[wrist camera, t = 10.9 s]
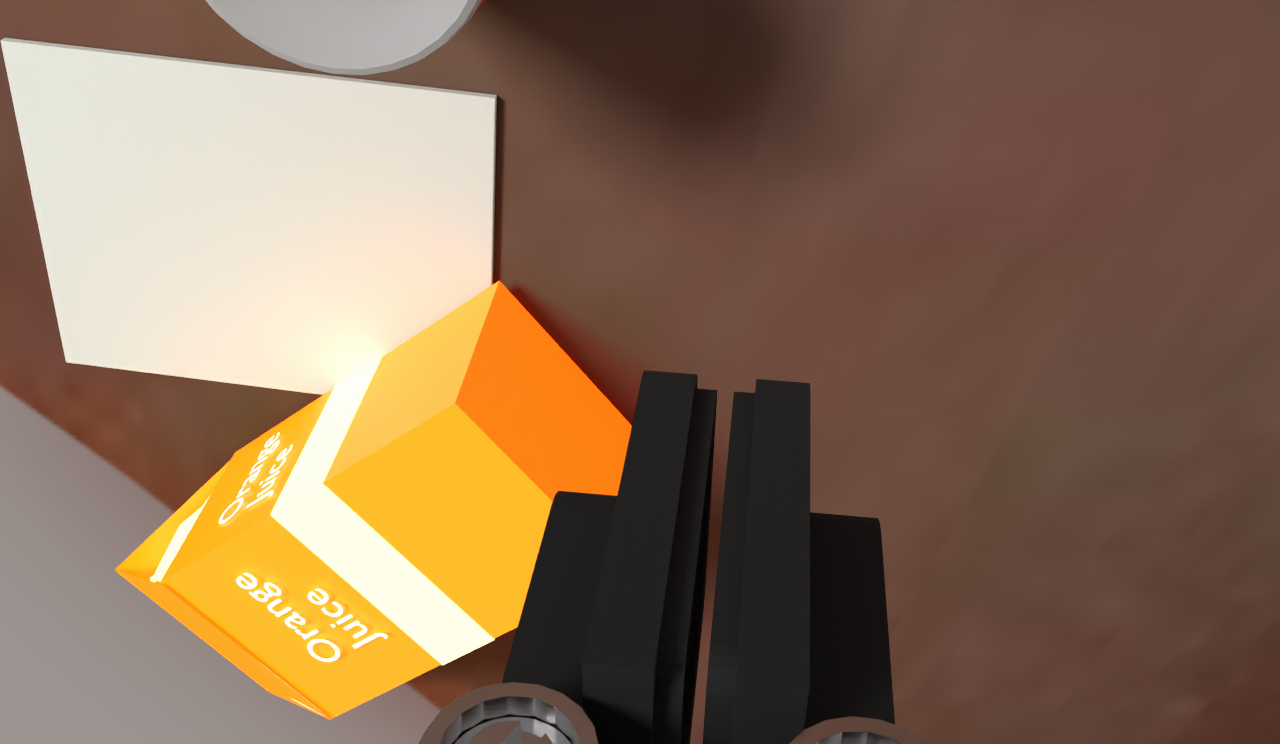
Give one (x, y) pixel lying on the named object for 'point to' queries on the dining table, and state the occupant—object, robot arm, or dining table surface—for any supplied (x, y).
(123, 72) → the mat
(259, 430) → the dining table surface
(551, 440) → the orange juice
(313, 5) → the canned food
